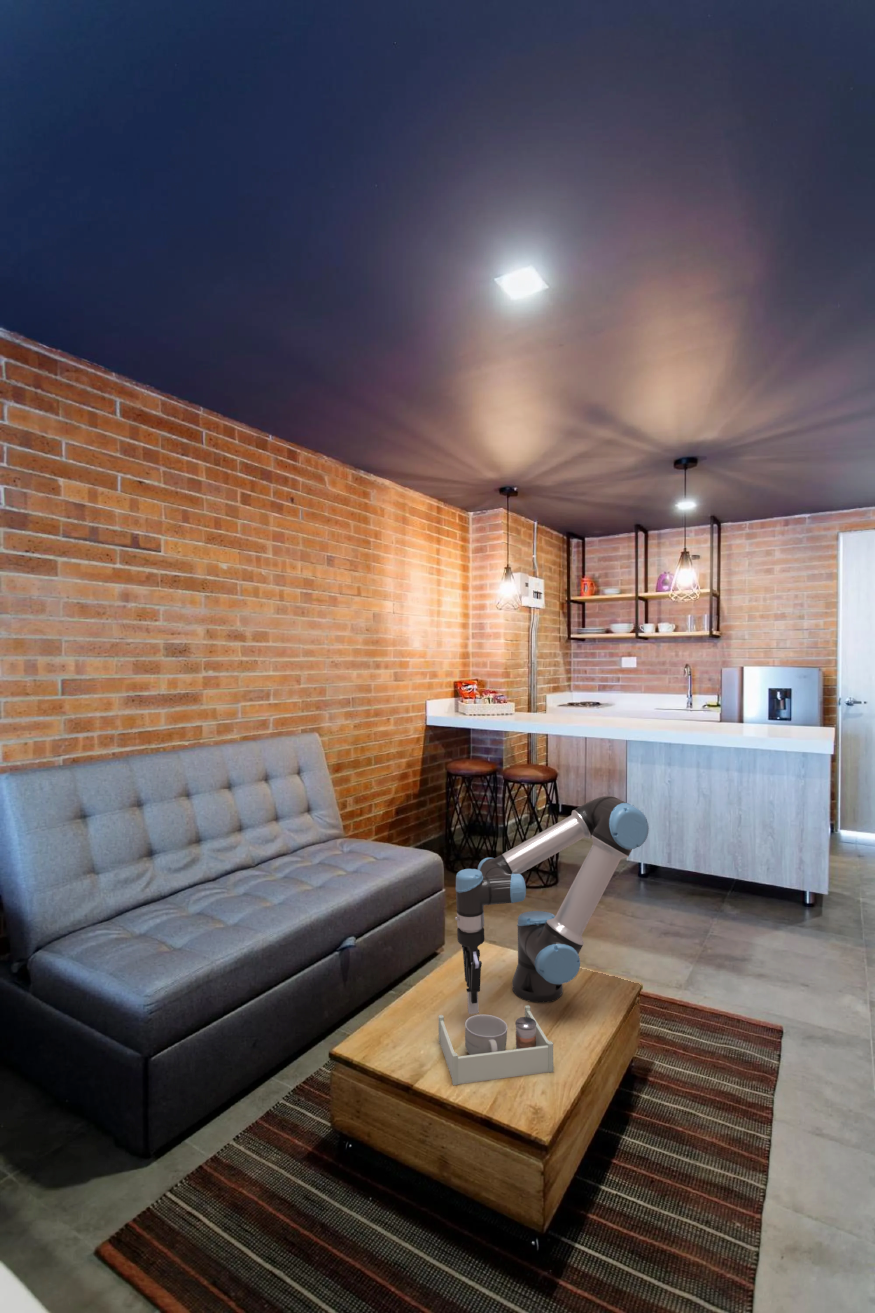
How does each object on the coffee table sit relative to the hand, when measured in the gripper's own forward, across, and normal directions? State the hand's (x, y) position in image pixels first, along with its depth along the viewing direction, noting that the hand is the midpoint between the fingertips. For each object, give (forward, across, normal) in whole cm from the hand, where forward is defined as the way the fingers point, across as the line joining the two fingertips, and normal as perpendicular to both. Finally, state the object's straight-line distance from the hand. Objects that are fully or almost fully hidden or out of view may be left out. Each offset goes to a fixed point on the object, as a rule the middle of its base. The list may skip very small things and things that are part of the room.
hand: (473, 1012), depth 178 cm
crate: (+3, +16, +1) cm, 16 cm away
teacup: (+3, +17, -1) cm, 17 cm away
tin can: (+3, +17, +9) cm, 20 cm away
